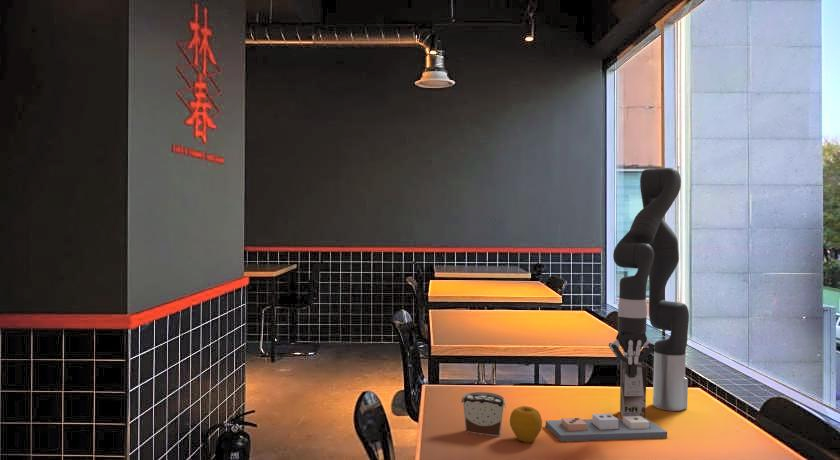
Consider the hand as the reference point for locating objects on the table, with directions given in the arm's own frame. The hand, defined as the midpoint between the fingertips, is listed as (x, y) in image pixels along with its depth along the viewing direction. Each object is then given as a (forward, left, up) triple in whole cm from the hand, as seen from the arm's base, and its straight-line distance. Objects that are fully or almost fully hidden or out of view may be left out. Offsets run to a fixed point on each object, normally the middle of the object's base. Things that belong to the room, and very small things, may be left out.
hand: (630, 377), depth 172 cm
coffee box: (-7, -12, -16) cm, 21 cm away
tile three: (+16, 0, -15) cm, 22 cm away
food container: (+40, -4, -16) cm, 43 cm away
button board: (+7, 0, -15) cm, 17 cm away
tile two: (+7, 0, -14) cm, 15 cm away
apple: (+31, +4, -16) cm, 35 cm away
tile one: (-2, 0, -14) cm, 15 cm away
